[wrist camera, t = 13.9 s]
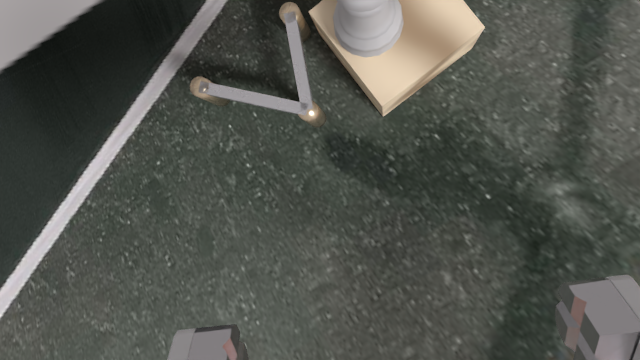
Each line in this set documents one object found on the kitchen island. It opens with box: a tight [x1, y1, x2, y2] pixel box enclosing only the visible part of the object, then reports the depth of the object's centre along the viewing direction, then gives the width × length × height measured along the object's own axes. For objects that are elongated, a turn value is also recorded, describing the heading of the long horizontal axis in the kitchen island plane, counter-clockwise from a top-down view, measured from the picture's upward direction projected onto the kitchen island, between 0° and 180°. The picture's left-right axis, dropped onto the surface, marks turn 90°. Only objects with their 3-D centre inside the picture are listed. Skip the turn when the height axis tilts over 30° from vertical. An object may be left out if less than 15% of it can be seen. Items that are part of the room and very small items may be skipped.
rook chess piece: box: [333, 0, 404, 58], centre depth 27 cm, size 4×4×8 cm
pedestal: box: [309, 0, 485, 116], centre depth 33 cm, size 8×8×5 cm
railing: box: [190, 2, 326, 127], centre depth 34 cm, size 9×7×4 cm
